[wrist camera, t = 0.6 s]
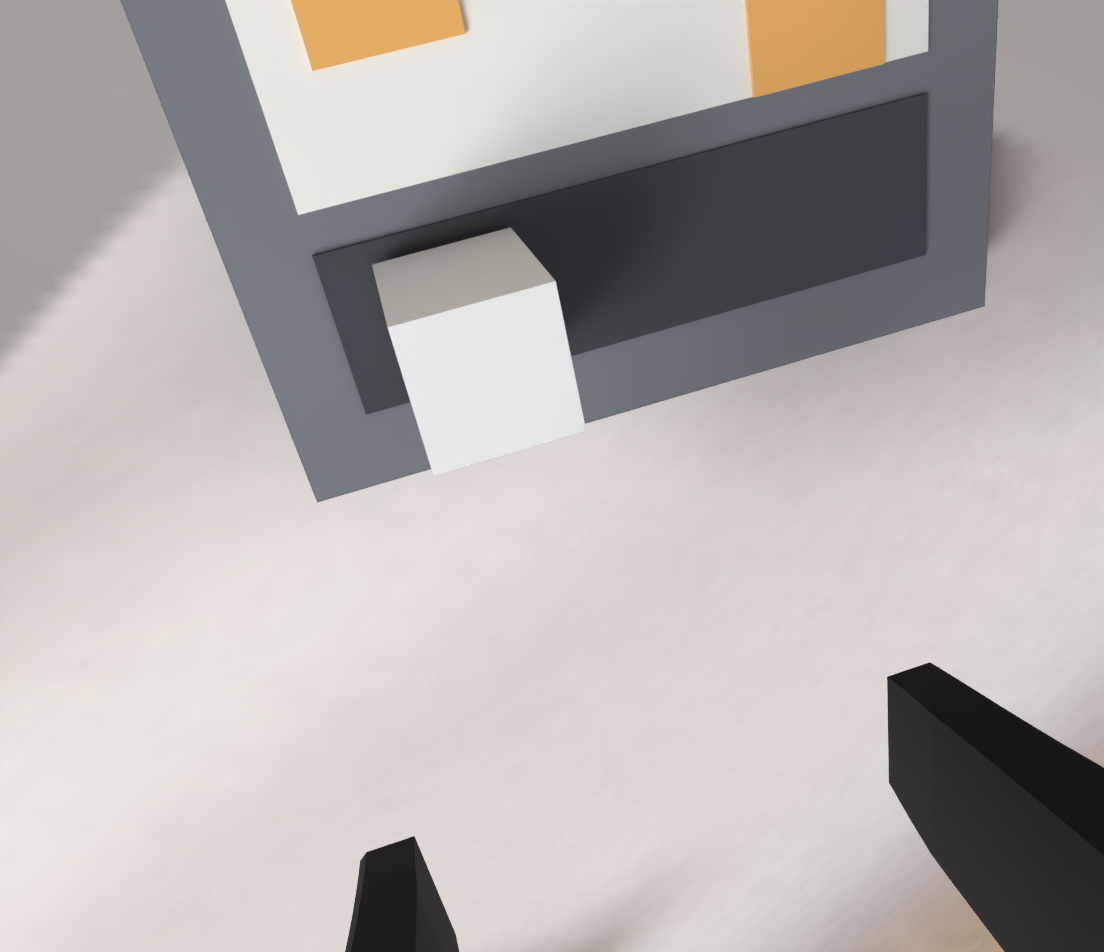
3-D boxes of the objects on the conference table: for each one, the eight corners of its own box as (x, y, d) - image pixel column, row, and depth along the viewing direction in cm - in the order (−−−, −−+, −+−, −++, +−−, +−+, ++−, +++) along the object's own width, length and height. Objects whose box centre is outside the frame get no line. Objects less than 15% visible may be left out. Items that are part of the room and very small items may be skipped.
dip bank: (959, -642, 13) (1040, -718, 12) (941, 285, 20) (991, 309, 19) (-43, -468, 12) (-91, -530, 10) (316, 466, 19) (317, 507, 17)
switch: (510, 227, 16) (555, 280, 13) (539, 356, 17) (586, 430, 14) (371, 265, 15) (387, 327, 13) (411, 393, 17) (433, 476, 14)
